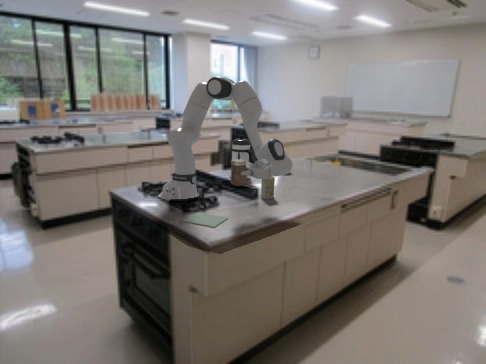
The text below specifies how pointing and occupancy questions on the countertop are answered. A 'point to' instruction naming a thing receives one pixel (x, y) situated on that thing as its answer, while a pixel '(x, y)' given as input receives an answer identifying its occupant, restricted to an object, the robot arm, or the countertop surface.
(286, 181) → the countertop surface
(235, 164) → the block
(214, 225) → the mat
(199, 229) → the countertop surface
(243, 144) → the coffee press
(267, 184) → the skincare box
